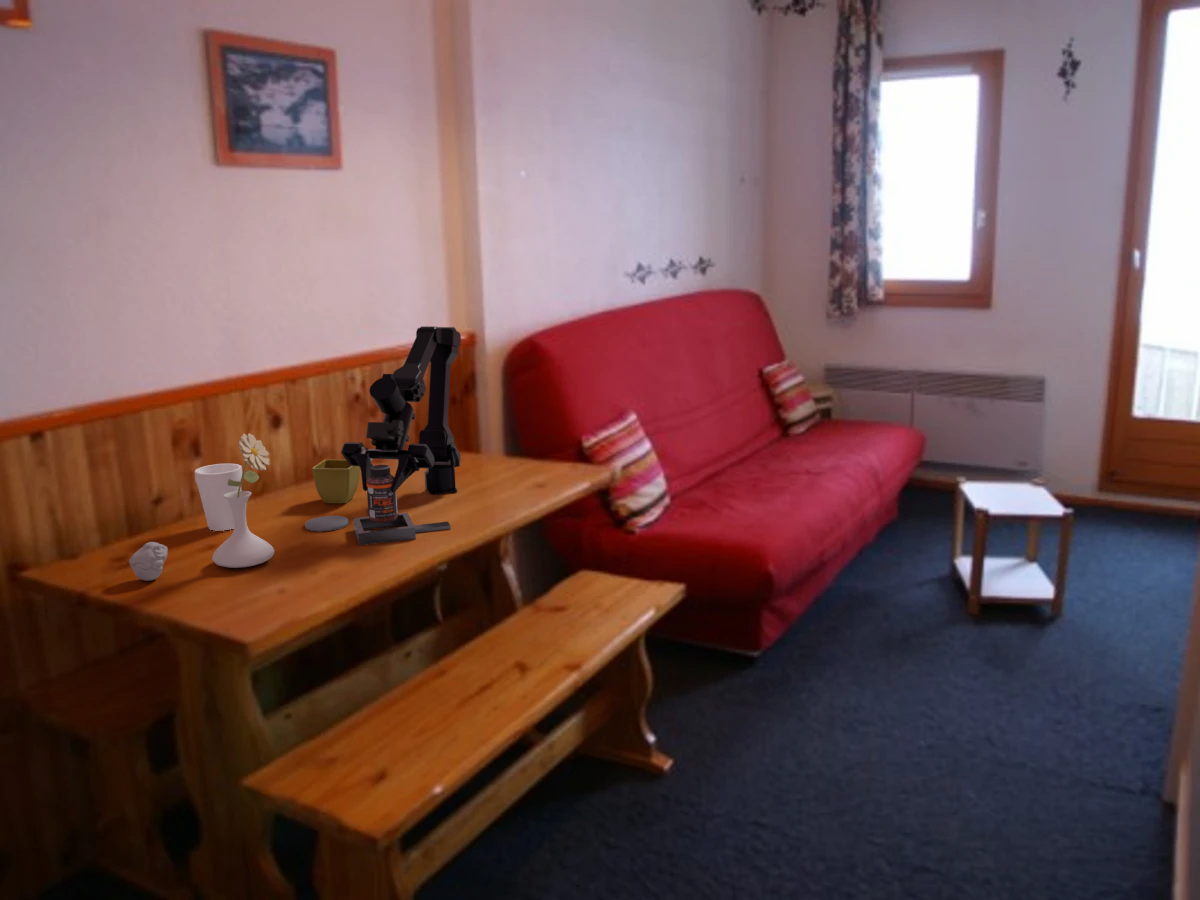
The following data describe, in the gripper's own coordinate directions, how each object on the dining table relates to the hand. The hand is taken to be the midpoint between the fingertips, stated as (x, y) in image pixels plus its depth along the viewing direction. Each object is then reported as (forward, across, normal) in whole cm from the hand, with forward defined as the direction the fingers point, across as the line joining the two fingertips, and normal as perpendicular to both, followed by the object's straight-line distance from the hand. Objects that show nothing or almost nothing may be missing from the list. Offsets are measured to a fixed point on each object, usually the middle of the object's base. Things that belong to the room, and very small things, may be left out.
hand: (378, 490), depth 212 cm
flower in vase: (+20, -20, -7) cm, 29 cm away
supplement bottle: (+4, 0, +6) cm, 7 cm away
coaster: (+3, -15, +11) cm, 19 cm away
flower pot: (-10, -21, +24) cm, 33 cm away
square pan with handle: (+5, +3, +9) cm, 11 cm away
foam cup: (+6, -37, +8) cm, 38 cm away
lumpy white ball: (+29, -32, -15) cm, 46 cm away
